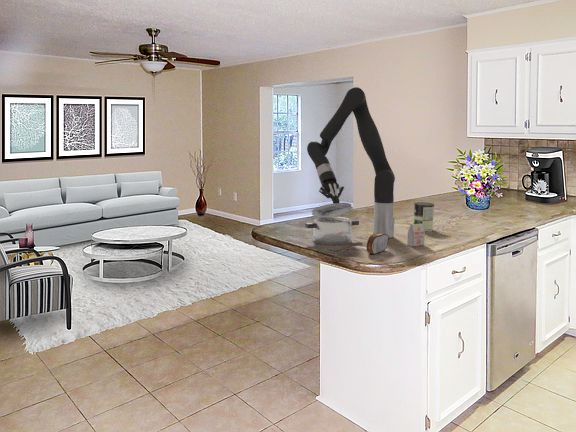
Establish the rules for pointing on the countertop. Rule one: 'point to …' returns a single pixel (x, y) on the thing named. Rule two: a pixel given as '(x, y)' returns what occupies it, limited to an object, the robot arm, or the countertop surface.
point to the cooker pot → (332, 230)
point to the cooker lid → (331, 209)
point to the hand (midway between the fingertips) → (337, 204)
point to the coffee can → (424, 215)
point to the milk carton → (416, 235)
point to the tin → (377, 243)
